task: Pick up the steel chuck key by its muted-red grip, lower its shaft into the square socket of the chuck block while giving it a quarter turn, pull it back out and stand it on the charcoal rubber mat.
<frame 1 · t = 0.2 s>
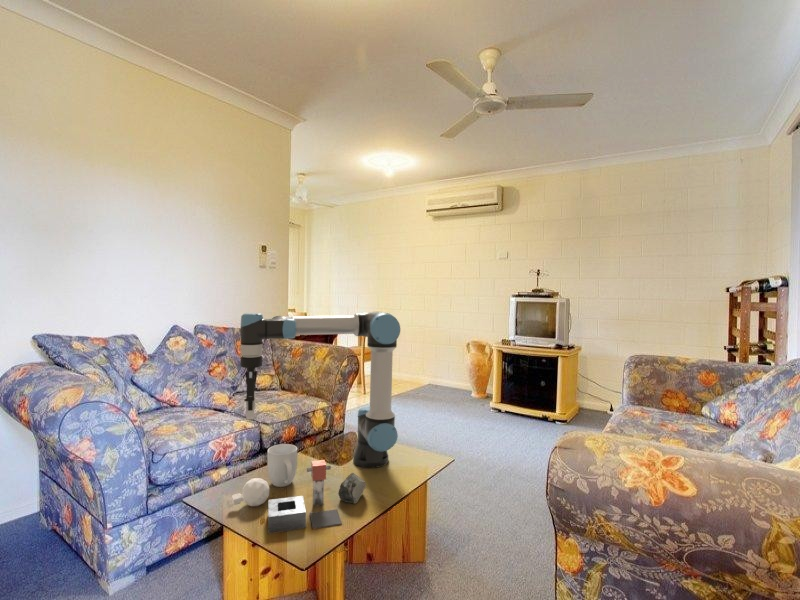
hand: (251, 413, 157), 28 cm above the table, fingers open, 13 cm apart
chuck key: (318, 503, 148), on the table
chuck block: (286, 521, 136), on the table
perfume bottle: (251, 505, 147), on the table
mug: (283, 484, 162), on the table
stone: (353, 500, 151), on the table
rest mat: (325, 519, 138), on the table
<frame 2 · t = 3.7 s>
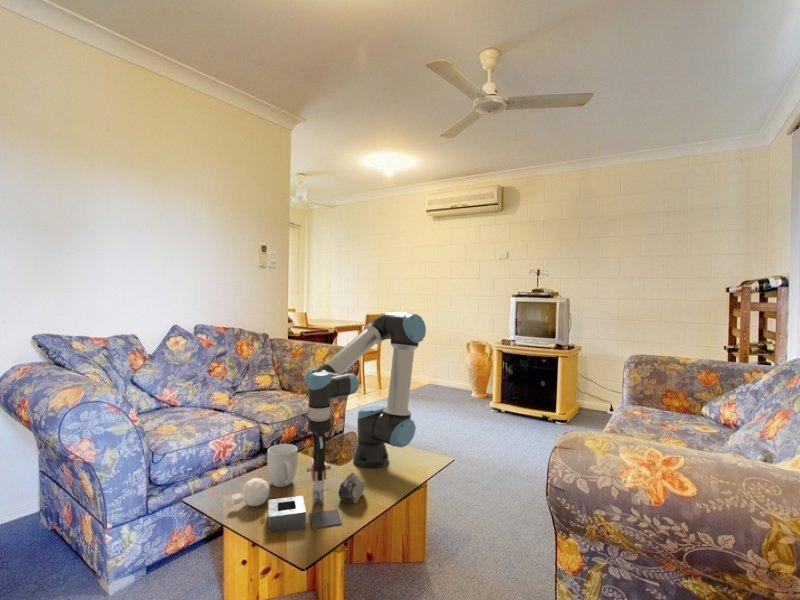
hand: (318, 485, 148), 6 cm above the table, fingers closed on chuck key, 4 cm apart
chuck key: (318, 503, 148), on the table, touching gripper
everything else where it was.
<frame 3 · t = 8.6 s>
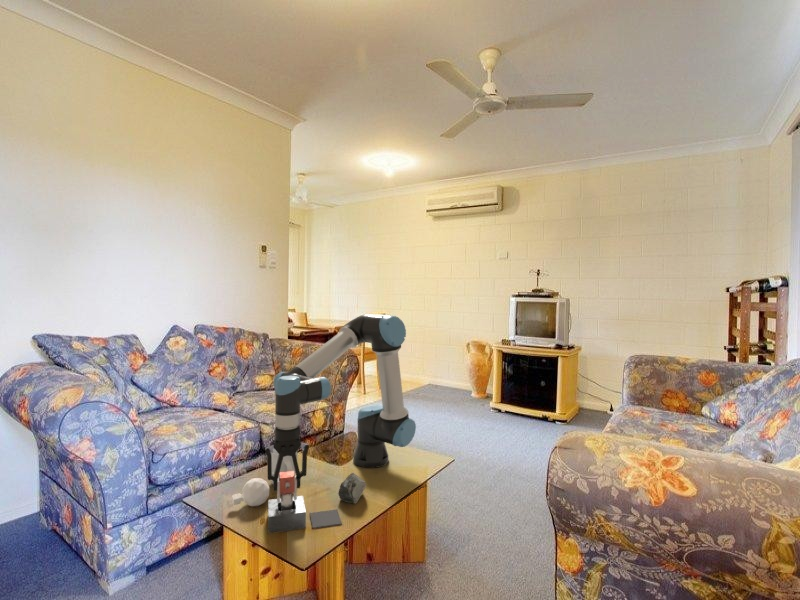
hand: (286, 499, 136), 7 cm above the table, fingers closed on chuck key, 4 cm apart
chuck key: (286, 518, 137), point 1 cm above the table, touching gripper
everything else where it was.
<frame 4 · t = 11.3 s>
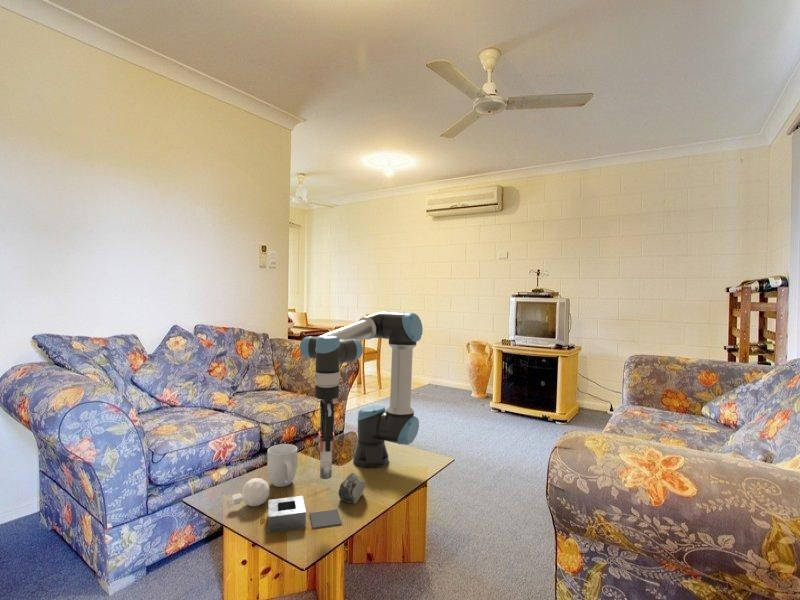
hand: (326, 457, 138), 20 cm above the table, fingers closed on chuck key, 4 cm apart
chuck key: (325, 476, 138), point 14 cm above the table, touching gripper
everything else where it was.
when the fingers open (8 cm above the table, at t = 13.7 s): chuck key drops 1 cm, resting on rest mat.
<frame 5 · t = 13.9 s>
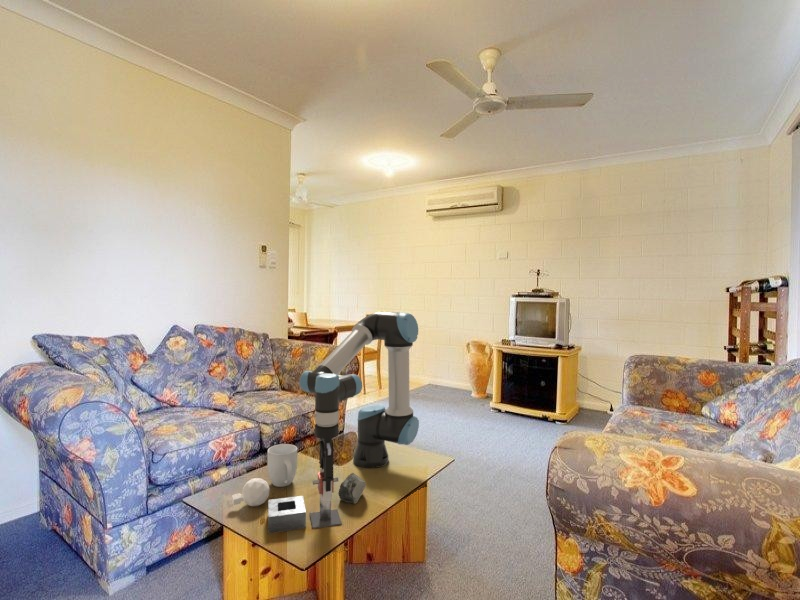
hand: (325, 494, 138), 8 cm above the table, fingers open, 7 cm apart
chuck key: (325, 517, 138), resting on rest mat
everything else where it was.
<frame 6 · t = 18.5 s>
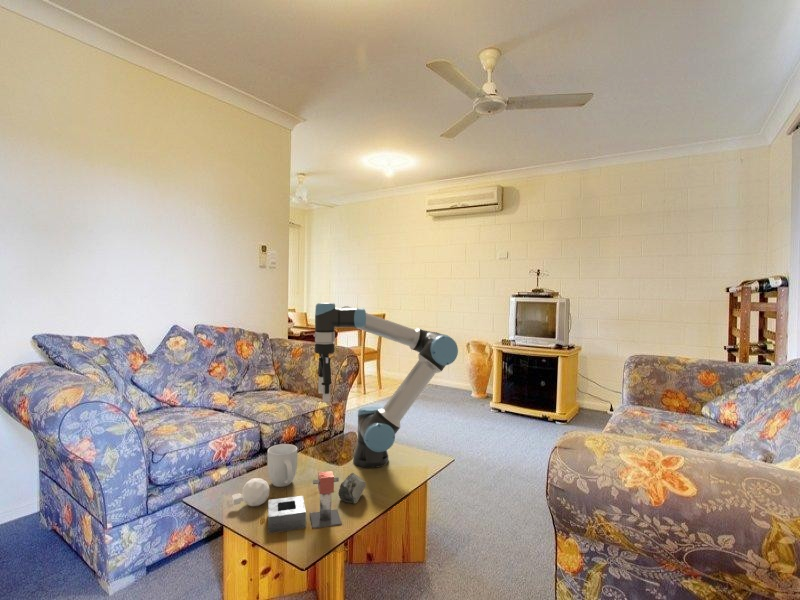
hand: (324, 397, 167), 32 cm above the table, fingers open, 13 cm apart
nothing on the table moved.
at the end: chuck key inside the target area on the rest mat (0.0 cm from its centre), point 0.4 cm above the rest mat's base; the gripper is holding nothing; chuck key touching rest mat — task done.
